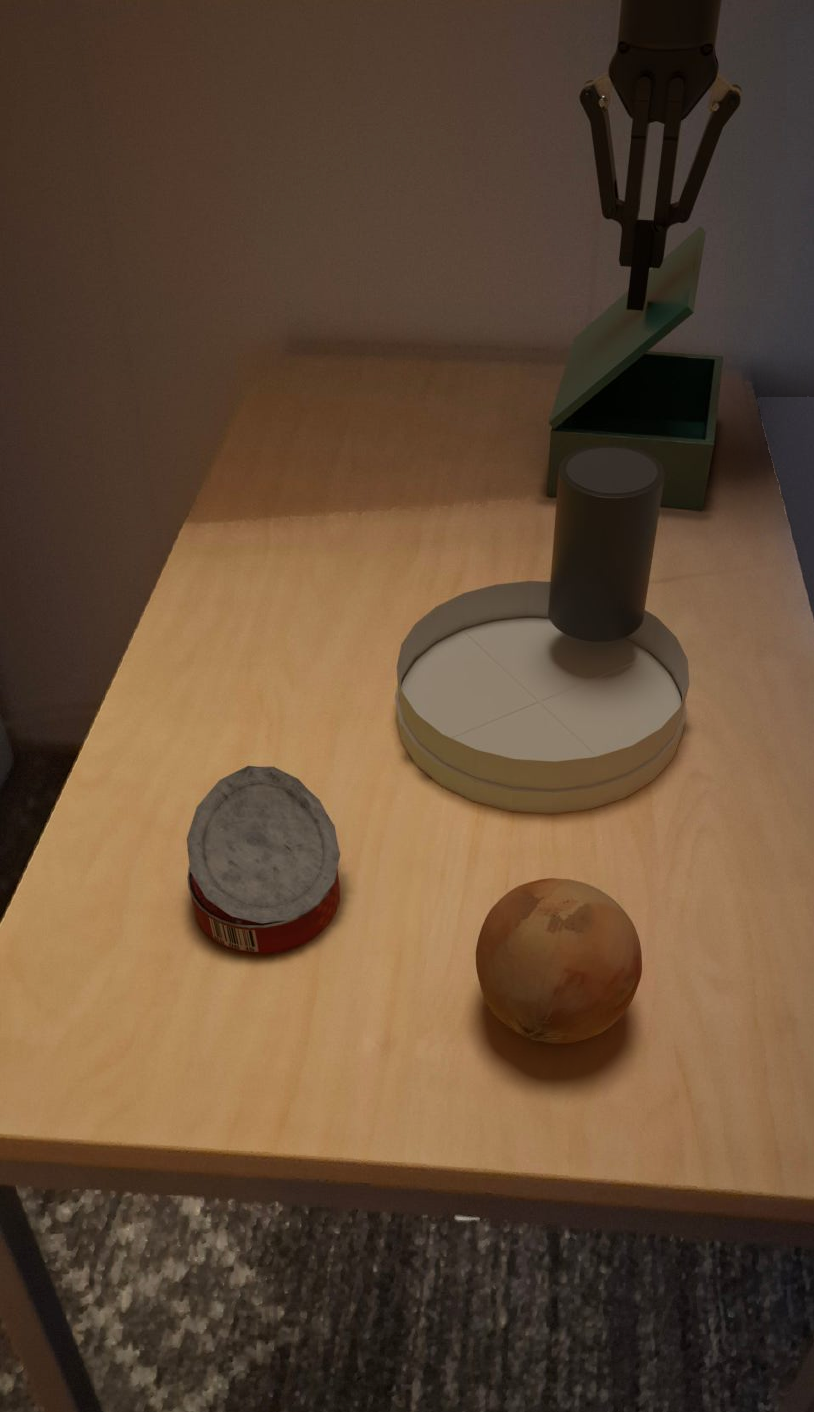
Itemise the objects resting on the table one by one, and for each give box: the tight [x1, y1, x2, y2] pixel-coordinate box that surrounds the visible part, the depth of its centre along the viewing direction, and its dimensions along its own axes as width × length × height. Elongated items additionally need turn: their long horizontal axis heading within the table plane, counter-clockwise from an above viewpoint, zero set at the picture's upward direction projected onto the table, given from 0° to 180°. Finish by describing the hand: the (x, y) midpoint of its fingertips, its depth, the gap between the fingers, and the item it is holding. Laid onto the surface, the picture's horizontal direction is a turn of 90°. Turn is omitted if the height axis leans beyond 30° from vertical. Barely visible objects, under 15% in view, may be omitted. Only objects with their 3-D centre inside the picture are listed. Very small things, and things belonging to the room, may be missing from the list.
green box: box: [545, 350, 724, 512], centre depth 113 cm, size 15×18×7 cm
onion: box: [475, 877, 643, 1044], centre depth 68 cm, size 10×10×10 cm
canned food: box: [186, 765, 341, 955], centre depth 76 cm, size 11×10×10 cm
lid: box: [548, 226, 707, 429], centre depth 106 cm, size 15×18×1 cm
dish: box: [394, 580, 690, 815], centre depth 89 cm, size 22×22×5 cm
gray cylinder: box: [548, 445, 665, 642], centre depth 86 cm, size 7×7×12 cm
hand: (636, 303), depth 105 cm, fingers closed
